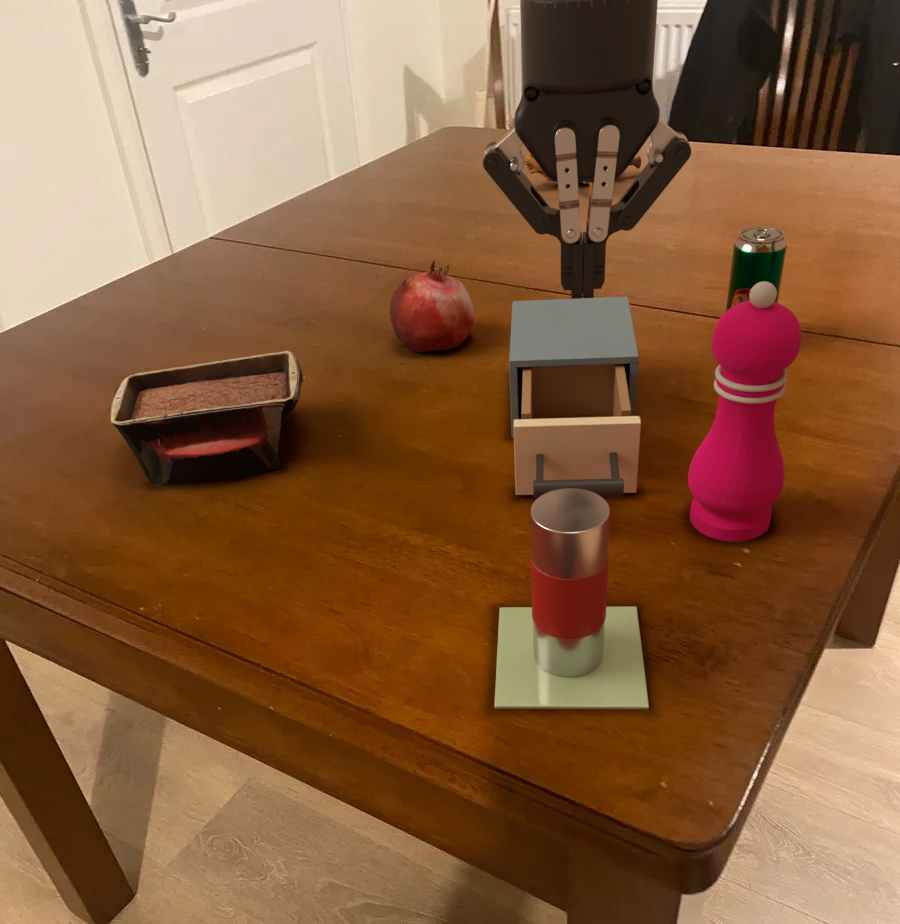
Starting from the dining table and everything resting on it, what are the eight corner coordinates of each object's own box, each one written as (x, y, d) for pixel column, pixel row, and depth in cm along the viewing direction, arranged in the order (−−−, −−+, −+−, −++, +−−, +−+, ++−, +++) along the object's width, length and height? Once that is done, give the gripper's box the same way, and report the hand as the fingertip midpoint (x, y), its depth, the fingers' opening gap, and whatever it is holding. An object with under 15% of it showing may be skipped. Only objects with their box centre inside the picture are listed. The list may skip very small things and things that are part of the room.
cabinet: (633, 439, 86) (639, 356, 80) (511, 443, 87) (509, 360, 82) (623, 374, 96) (628, 295, 91) (514, 377, 97) (512, 300, 92)
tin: (602, 629, 65) (608, 486, 57) (606, 678, 61) (613, 532, 54) (532, 629, 65) (529, 488, 58) (532, 678, 62) (529, 534, 54)
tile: (636, 614, 67) (636, 605, 67) (648, 715, 60) (649, 706, 59) (499, 614, 68) (499, 606, 68) (494, 714, 61) (494, 706, 60)
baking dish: (163, 439, 97) (118, 356, 90) (325, 398, 95) (292, 311, 88) (142, 525, 86) (90, 440, 79) (323, 482, 85) (286, 390, 78)
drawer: (641, 531, 73) (647, 459, 69) (514, 533, 74) (511, 462, 70) (626, 420, 87) (629, 354, 83) (518, 423, 88) (516, 358, 84)
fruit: (377, 349, 105) (366, 262, 99) (441, 322, 109) (434, 237, 103) (427, 373, 99) (418, 282, 93) (492, 344, 104) (488, 256, 97)
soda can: (720, 357, 97) (735, 242, 90) (721, 336, 101) (735, 225, 93) (770, 358, 96) (789, 242, 88) (770, 338, 100) (787, 225, 92)
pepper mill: (665, 527, 75) (688, 287, 62) (715, 489, 79) (746, 255, 66) (743, 562, 71) (785, 312, 58) (792, 520, 74) (842, 277, 62)
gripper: (463, 3, 48) (480, 321, 59) (723, -16, 47) (690, 313, 58) (471, -16, 54) (485, 277, 65) (703, -34, 52) (677, 269, 63)
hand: (582, 293), depth 61 cm, fingers closed
